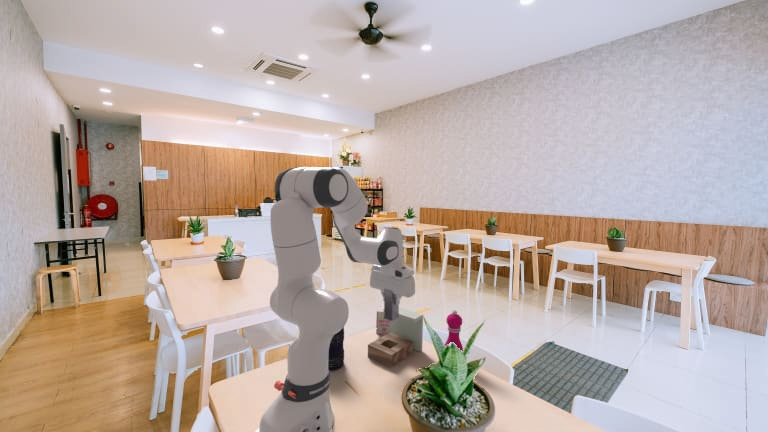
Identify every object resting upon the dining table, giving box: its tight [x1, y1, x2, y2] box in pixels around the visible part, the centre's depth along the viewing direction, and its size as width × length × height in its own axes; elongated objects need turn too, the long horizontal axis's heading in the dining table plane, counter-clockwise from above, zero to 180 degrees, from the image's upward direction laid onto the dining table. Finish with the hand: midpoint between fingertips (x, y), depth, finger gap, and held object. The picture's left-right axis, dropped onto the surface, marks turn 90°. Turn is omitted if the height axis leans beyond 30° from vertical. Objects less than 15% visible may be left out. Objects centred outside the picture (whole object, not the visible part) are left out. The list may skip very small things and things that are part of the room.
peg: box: [383, 288, 400, 321], centre depth 122 cm, size 4×4×12 cm
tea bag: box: [375, 310, 391, 335], centre depth 145 cm, size 4×7×10 cm, turn 87°
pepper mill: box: [444, 309, 464, 352], centre depth 121 cm, size 7×7×20 cm
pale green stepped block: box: [390, 306, 424, 353], centre depth 131 cm, size 6×16×16 cm, turn 51°
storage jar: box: [328, 326, 345, 372], centre depth 117 cm, size 10×10×15 cm
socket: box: [367, 333, 414, 369], centre depth 125 cm, size 14×12×5 cm
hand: (391, 302), depth 122 cm, fingers closed on peg, 4 cm apart
